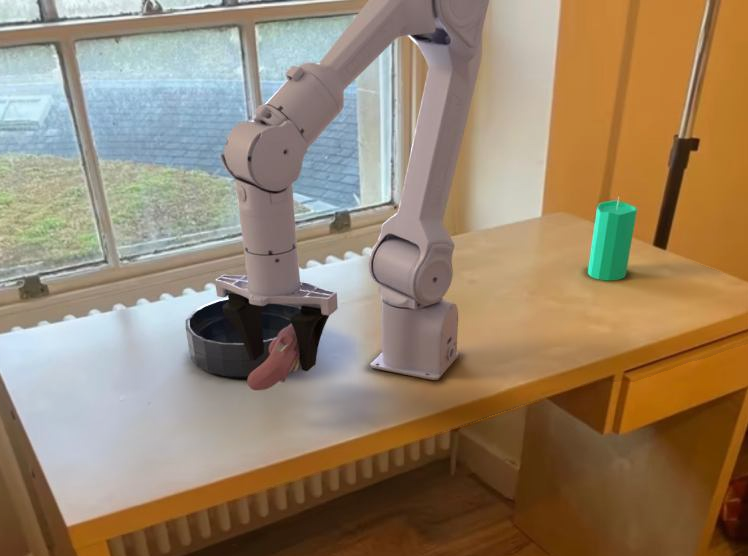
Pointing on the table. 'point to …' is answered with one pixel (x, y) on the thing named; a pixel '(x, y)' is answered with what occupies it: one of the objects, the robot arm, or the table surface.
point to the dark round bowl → (231, 338)
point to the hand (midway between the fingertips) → (282, 362)
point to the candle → (611, 240)
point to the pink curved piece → (277, 361)
